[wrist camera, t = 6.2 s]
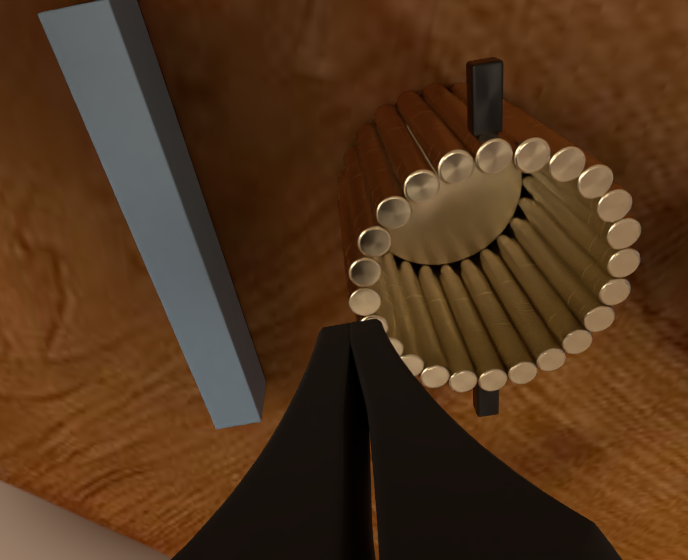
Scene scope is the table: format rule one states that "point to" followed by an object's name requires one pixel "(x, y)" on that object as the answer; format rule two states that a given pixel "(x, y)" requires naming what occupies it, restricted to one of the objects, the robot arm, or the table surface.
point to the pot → (481, 237)
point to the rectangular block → (159, 196)
